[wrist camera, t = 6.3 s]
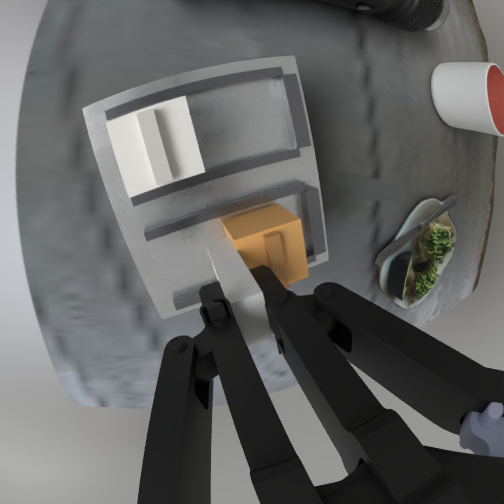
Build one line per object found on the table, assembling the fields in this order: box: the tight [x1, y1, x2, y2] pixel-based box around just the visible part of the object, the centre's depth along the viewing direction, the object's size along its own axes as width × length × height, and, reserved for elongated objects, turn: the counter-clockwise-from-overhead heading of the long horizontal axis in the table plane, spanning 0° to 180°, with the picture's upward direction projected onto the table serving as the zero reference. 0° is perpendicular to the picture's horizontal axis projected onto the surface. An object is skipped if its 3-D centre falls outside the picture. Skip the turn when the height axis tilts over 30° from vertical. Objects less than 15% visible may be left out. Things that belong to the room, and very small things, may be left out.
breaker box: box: [82, 55, 329, 319], centre depth 21 cm, size 14×16×9 cm
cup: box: [431, 62, 504, 137], centre depth 24 cm, size 10×10×10 cm
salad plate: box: [375, 195, 456, 309], centre depth 36 cm, size 19×18×5 cm
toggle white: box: [106, 96, 205, 198], centre depth 13 cm, size 4×4×4 cm
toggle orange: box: [222, 204, 309, 289], centre depth 18 cm, size 4×4×4 cm
